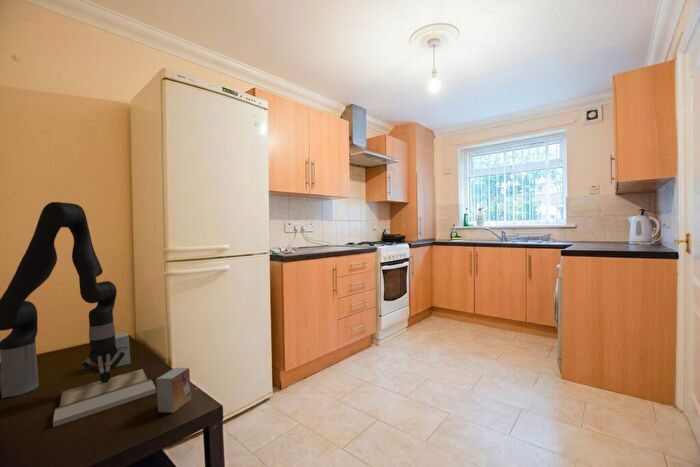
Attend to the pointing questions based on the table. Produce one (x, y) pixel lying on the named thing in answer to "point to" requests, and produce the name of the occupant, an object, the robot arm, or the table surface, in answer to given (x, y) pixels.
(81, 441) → the table surface
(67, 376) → the table surface
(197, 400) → the table surface
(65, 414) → the grey board
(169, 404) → the small box
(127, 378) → the oak plank
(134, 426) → the table surface
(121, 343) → the supplement box
